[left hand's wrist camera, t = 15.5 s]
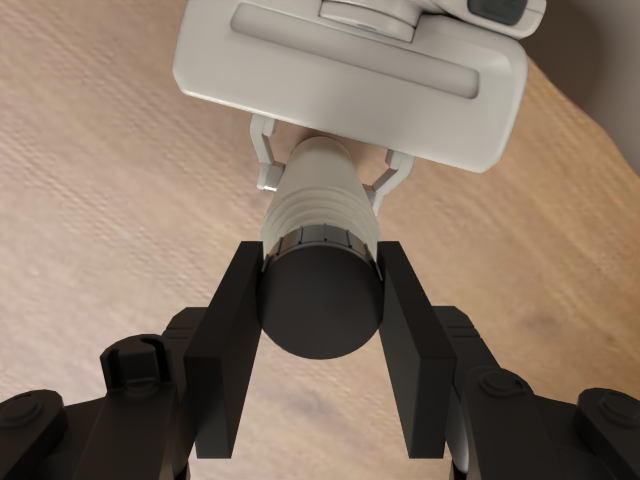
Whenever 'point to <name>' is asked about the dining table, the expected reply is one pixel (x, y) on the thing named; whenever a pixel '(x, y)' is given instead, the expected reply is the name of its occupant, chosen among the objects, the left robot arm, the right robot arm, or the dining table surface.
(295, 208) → the bottle
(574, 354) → the dining table surface
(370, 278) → the cap
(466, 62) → the right robot arm
